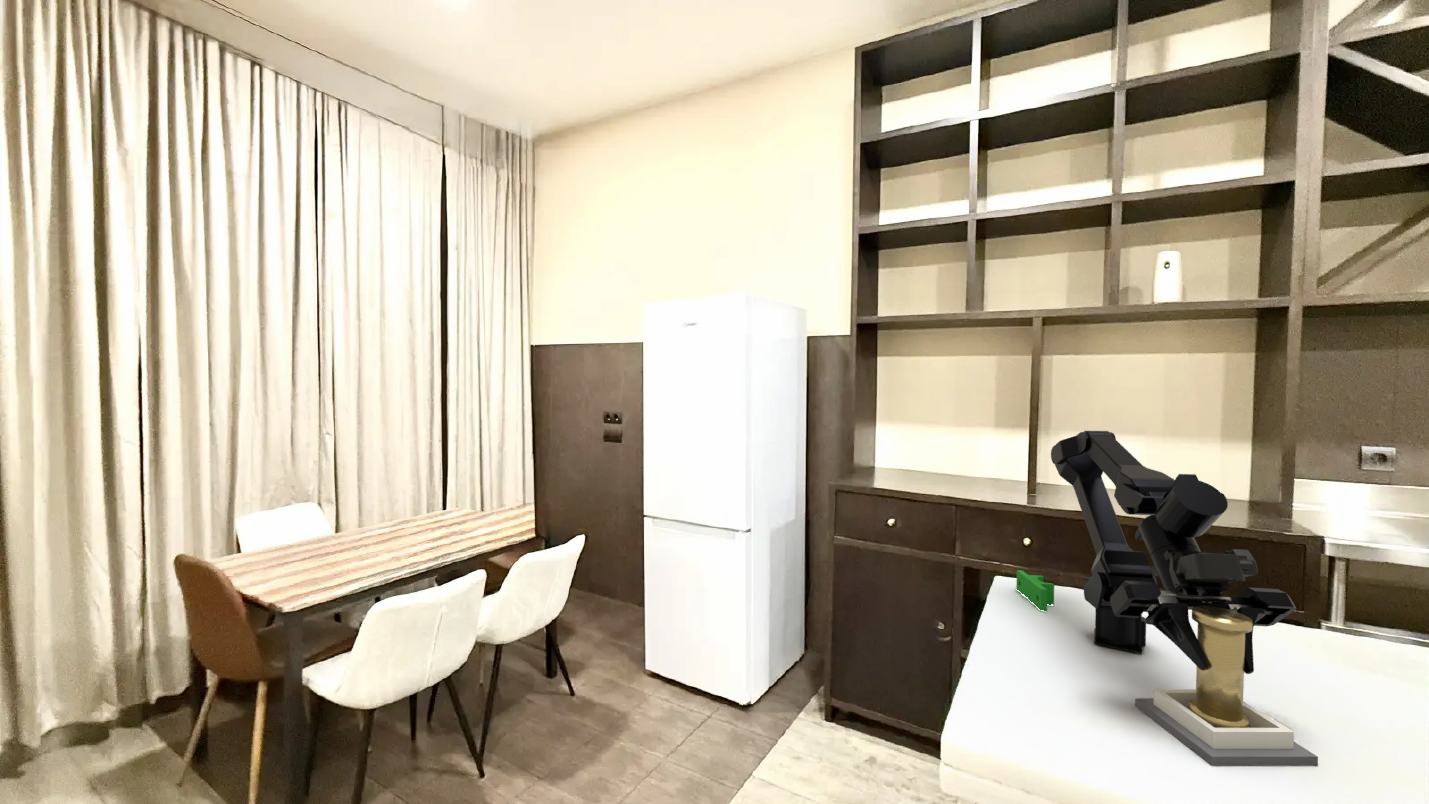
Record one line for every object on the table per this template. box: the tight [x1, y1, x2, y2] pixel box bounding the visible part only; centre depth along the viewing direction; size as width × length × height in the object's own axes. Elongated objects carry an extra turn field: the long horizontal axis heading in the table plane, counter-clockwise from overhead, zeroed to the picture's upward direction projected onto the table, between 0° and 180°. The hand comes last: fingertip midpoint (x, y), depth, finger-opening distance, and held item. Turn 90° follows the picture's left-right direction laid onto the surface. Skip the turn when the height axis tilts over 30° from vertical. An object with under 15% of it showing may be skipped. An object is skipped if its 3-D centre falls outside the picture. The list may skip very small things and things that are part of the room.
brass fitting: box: [1189, 606, 1252, 728], centre depth 71 cm, size 6×6×13 cm
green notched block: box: [1015, 569, 1055, 612], centre depth 114 cm, size 11×4×5 cm, turn 174°
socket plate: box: [1134, 688, 1319, 766], centre depth 71 cm, size 12×12×3 cm
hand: (1227, 671), depth 69 cm, fingers closed on brass fitting, 4 cm apart
